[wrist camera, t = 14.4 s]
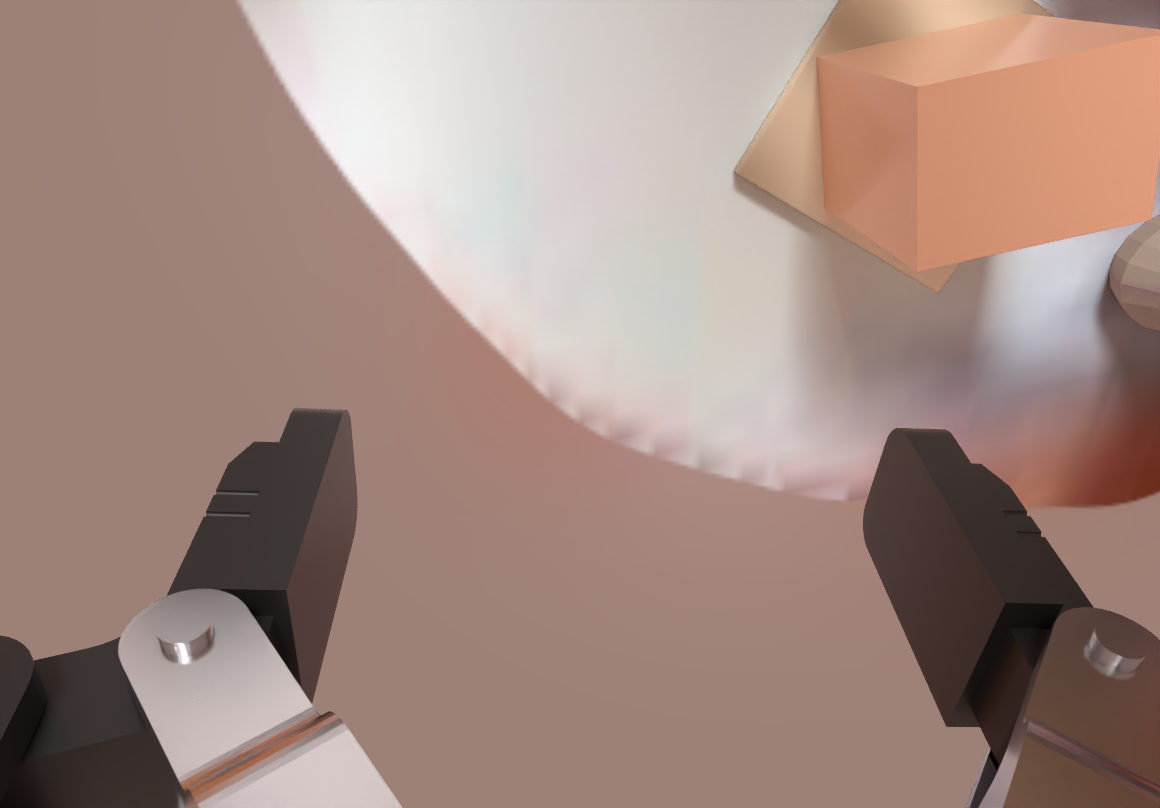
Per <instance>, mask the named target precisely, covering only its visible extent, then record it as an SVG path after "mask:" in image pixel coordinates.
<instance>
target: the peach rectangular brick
mask: <svg viewBox="0 0 1160 808" xmlns="http://www.w3.org/2000/svg"><path fill="white" fill-rule="evenodd" d="M817 72H818V92H819V111H820V131H821V151H822V171H823V190H824V208H826V209H827V210H829V211H830V212H832V213H833V214H834V215H836V216H837V217H839V218H840V219H842V220H843V221H845V222H846V223H847V224H849V225H850V226H852V227H853V228H855V229H856V230H858V231H859V232H861V233H862V234H863V235H865V236H866V237H868V238H869V239H871V240H872V241H874V242H875V243H877V244H878V245H879V246H881V247H882V248H884V249H885V250H887V251H888V252H890V253H891V254H892V255H894V256H895V257H897V258H898V259H900V260H901V261H903V262H904V263H906V264H907V265H908V266H910V267H911V268H913V269H914V270H916V271H917V272H919V271H923V270H928V269H932V268H936V267H941V266H945V265H950V264H954V263H959V262H963V261H968V260H972V259H977V258H981V257H986V256H990V255H995V254H999V253H1004V252H1008V251H1013V250H1017V249H1022V248H1026V247H1031V246H1035V245H1040V244H1044V243H1049V242H1053V241H1058V240H1062V239H1067V238H1071V237H1076V236H1080V235H1085V234H1089V233H1094V232H1098V231H1103V230H1107V229H1112V228H1116V227H1121V226H1125V225H1130V224H1134V223H1139V222H1143V221H1148V220H1152V212H1153V205H1154V197H1155V189H1156V181H1157V174H1158V166H1159V158H1160V29H1152V28H1144V27H1135V26H1126V25H1118V24H1109V23H1100V22H1092V21H1083V20H1074V19H1065V18H1057V17H1048V16H1039V15H1031V14H1022V13H1020V14H1016V15H1011V16H1006V17H1002V18H997V19H992V20H988V21H983V22H978V23H974V24H969V25H964V26H960V27H955V28H950V29H946V30H941V31H936V32H931V33H927V34H922V35H917V36H913V37H908V38H903V39H899V40H894V41H889V42H885V43H880V44H875V45H871V46H866V47H861V48H857V49H852V50H847V51H842V52H838V53H833V54H828V55H824V56H819V57H817Z"/></svg>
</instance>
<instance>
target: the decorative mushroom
mask: <svg viewBox="0 0 1160 808" xmlns="http://www.w3.org/2000/svg"><path fill="white" fill-rule="evenodd" d="M1109 279H1110V288H1111V290H1112V292H1113V294H1114V295H1115V297H1116V299H1117V301H1118V302H1119V304H1120V305H1121V306H1122V308H1123V309H1124V311H1125V312H1126V313H1127V315H1128V316H1129V317H1130V318H1131V319H1132V320H1134V321H1135V322H1137V323H1138V324H1140V325H1141V326H1143V327H1144V328H1148V329H1152V330H1157V331H1160V215H1158V216H1157V217H1155V218H1153V219H1152V220H1149V221H1147V222H1145V223H1144V224H1143V225H1142V226H1141V227H1139V228H1138V229H1137V230H1136V231H1135V232H1133V233H1132V234H1131V235H1130V236H1129V237H1128V238H1127V239H1126V240H1125V242H1124V243H1123V244H1122V246H1121V247H1120V248H1119V250H1118V251H1117V252H1116V254H1115V257H1114V259H1113V262H1112V265H1111V267H1110V270H1109Z"/></svg>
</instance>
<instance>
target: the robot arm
mask: <svg viewBox="0 0 1160 808" xmlns="http://www.w3.org/2000/svg"><path fill="white" fill-rule="evenodd" d="M356 519H357V487H356V475H355V464H354V452H353V441H352V429H351V420H350V415H349V412H348V411H347V410H335V409H334V410H333V409H307V408H295V409H293V411H292V412H291V414H290V417H289V420H288V422H287V424H286V427H285V429H284V432H283V434H282V437H281V439H280V442H279V443H278V442H253V443H252V444H251V445H250V446H249V447H247V448H246V449H245V450H244V451H243V452H242V453H241V454H239V455H238V456H237V457H236V458H235V459H234V460H232V461H231V462H230V463H229V464H228V466H227V468H226V470H225V473H224V475H223V477H222V479H221V481H220V483H219V485H218V488H217V489H216V495H214V496H213V498H212V500H211V502H210V504H209V507H208V509H207V511H206V517H203V520H202V522H201V524H200V526H199V528H198V530H197V532H196V534H195V537H194V539H193V541H192V543H191V545H190V548H189V549H188V551H187V554H186V556H185V558H184V560H183V562H182V564H181V566H180V568H179V571H178V573H177V575H176V577H175V579H174V581H173V584H172V586H171V588H170V590H169V592H168V594H167V596H166V597H163V598H162V599H159V600H157V601H155V602H154V603H152V604H150V605H149V606H147V607H146V608H144V609H143V610H142V611H140V612H139V613H138V614H137V615H136V616H135V617H134V618H133V619H132V620H131V621H130V622H129V624H128V625H127V627H126V628H125V629H124V631H123V633H122V636H121V637H119V638H117V639H115V640H112V641H110V642H107V643H104V644H102V645H99V646H95V647H91V648H87V649H83V650H79V651H74V652H70V653H65V654H61V655H57V656H53V657H48V658H43V659H39V660H35V661H33V658H32V656H31V654H30V651H29V650H28V649H27V648H26V647H25V646H24V645H23V644H22V643H20V642H19V641H17V640H15V639H12V638H9V637H5V636H0V808H402V807H401V805H400V804H399V802H398V801H397V800H396V798H395V796H394V795H393V793H392V792H391V790H390V789H389V788H388V786H387V785H386V783H385V782H384V780H383V779H382V777H381V776H380V774H379V773H378V771H377V770H376V769H375V767H374V766H373V764H372V763H371V761H370V760H369V758H368V757H367V755H366V754H365V753H364V751H363V750H362V748H361V747H360V745H359V744H358V742H357V741H356V740H355V738H354V736H353V735H352V734H351V732H350V731H349V729H348V728H347V726H346V725H345V724H344V723H343V721H342V720H341V719H340V718H339V717H338V716H337V715H336V714H335V713H333V712H330V711H329V712H327V713H325V714H323V715H320V714H319V713H318V712H317V711H316V710H315V708H314V707H313V706H312V702H313V698H314V694H315V690H316V686H317V682H318V678H319V674H320V669H321V665H322V661H323V658H324V654H325V650H326V646H327V642H328V638H329V634H330V630H331V626H332V622H333V618H334V614H335V610H336V606H337V602H338V598H339V594H340V590H341V586H342V582H343V578H344V574H345V570H346V566H347V562H348V558H349V554H350V550H351V546H352V542H353V538H354V534H355V527H356ZM863 531H864V538H865V543H866V546H867V549H868V551H869V553H870V556H871V558H872V560H873V562H874V564H875V567H876V569H877V571H878V573H879V576H880V578H881V580H882V582H883V585H884V587H885V589H886V592H887V594H888V596H889V598H890V601H891V603H892V605H893V607H894V610H895V612H896V614H897V616H898V619H899V621H900V623H901V625H902V628H903V630H904V632H905V634H906V637H907V639H908V641H909V643H910V646H911V648H912V650H913V652H914V655H915V657H916V659H917V662H918V664H919V666H920V668H921V671H922V673H923V675H924V677H925V680H926V682H927V684H928V686H929V688H930V691H931V693H932V695H933V697H934V700H935V702H936V704H937V706H938V709H939V711H940V713H941V716H942V718H943V720H944V722H945V725H946V726H947V727H980V728H981V730H982V732H983V734H984V736H985V738H986V740H987V742H988V744H989V748H988V750H987V752H986V754H985V756H984V758H983V760H982V763H981V766H980V768H979V771H978V774H977V777H976V780H975V782H974V785H973V788H972V791H971V793H970V796H969V799H968V802H967V804H966V807H965V808H1160V640H1159V639H1158V638H1157V637H1156V636H1155V635H1154V634H1152V633H1151V632H1150V631H1148V630H1147V629H1146V628H1144V627H1143V626H1141V625H1139V624H1137V623H1136V622H1134V621H1132V620H1130V619H1128V618H1126V617H1124V616H1122V615H1119V614H1116V613H1114V612H1111V611H1107V610H1103V609H1098V608H1094V607H1093V606H1092V604H1091V603H1090V602H1089V600H1088V599H1087V597H1086V596H1085V594H1084V593H1083V591H1082V590H1081V589H1080V587H1079V586H1078V584H1077V583H1076V581H1075V580H1074V579H1073V577H1072V576H1071V574H1070V573H1069V571H1068V570H1067V568H1066V567H1065V566H1064V564H1063V563H1062V561H1061V560H1060V558H1059V557H1058V555H1057V554H1056V552H1055V551H1054V550H1053V548H1052V547H1051V545H1050V544H1049V543H1048V541H1047V540H1046V538H1045V537H1041V531H1040V529H1039V528H1038V527H1037V525H1036V524H1035V522H1034V521H1033V519H1032V518H1031V517H1030V516H1027V511H1026V509H1025V508H1024V506H1023V505H1022V503H1021V502H1020V501H1019V499H1018V498H1017V496H1016V495H1015V493H1014V492H1013V490H1012V489H1011V488H1010V486H1009V485H1007V484H1006V483H1005V482H1003V481H1002V480H1001V479H1000V478H998V477H997V476H996V475H995V474H993V473H992V472H991V471H989V470H988V469H987V468H986V467H984V466H983V465H982V464H971V462H970V461H969V459H968V458H967V456H966V455H965V453H964V452H963V450H962V449H961V447H960V446H959V444H958V443H957V441H956V440H955V438H954V437H953V435H952V434H951V433H950V432H949V431H947V430H938V429H910V428H896V429H894V430H893V431H892V432H891V433H890V434H889V436H888V438H887V441H886V443H885V446H884V450H883V453H882V456H881V459H880V462H879V465H878V468H877V471H876V474H875V477H874V480H873V483H872V487H871V490H870V493H869V496H868V499H867V502H866V505H865V509H864V517H863Z"/></svg>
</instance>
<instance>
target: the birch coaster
mask: <svg viewBox="0 0 1160 808" xmlns="http://www.w3.org/2000/svg"><path fill="white" fill-rule="evenodd" d="M1020 13H1022V14H1031V15H1039V16H1048V17H1054V16H1053V15H1051V14H1050V13H1049V12H1047V11H1046V10H1045V9H1044V8H1042V7H1041V6H1040V5H1038V4H1037V3H1036V2H1035V1H1033V0H839V2H838V3H837V5H836V7H835V8H834V10H833V11H832V13H831V15H830V16H829V18H828V19H827V21H826V23H825V24H824V26H823V28H822V29H821V31H820V32H819V34H818V36H817V37H816V39H815V40H814V42H813V44H812V45H811V47H810V49H809V50H808V52H807V53H806V55H805V57H804V58H803V60H802V61H801V63H800V65H799V66H798V68H797V69H796V71H795V73H794V74H793V76H792V78H791V79H790V81H789V82H788V84H787V86H786V87H785V89H784V90H783V92H782V94H781V95H780V97H779V99H778V100H777V102H776V103H775V105H774V107H773V108H772V110H771V111H770V113H769V115H768V116H767V118H766V120H765V121H764V123H763V124H762V126H761V128H760V129H759V131H758V132H757V134H756V136H755V137H754V139H753V141H752V142H751V144H750V145H749V147H748V149H747V150H746V152H745V153H744V155H743V157H742V158H741V160H740V161H739V163H738V165H737V166H736V168H735V170H734V172H735V173H737V174H738V175H739V176H741V177H743V178H745V179H746V180H748V181H750V182H751V183H753V184H755V185H756V186H758V187H760V188H761V189H763V190H765V191H766V192H768V193H770V194H772V195H773V196H775V197H777V198H778V199H780V200H782V201H783V202H785V203H787V204H788V205H790V206H792V207H793V208H795V209H797V210H798V211H800V212H802V213H804V214H805V215H807V216H809V217H810V218H812V219H814V220H815V221H817V222H819V223H820V224H822V225H824V226H825V227H827V228H829V229H831V230H832V231H834V232H836V233H837V234H839V235H841V236H842V237H844V238H846V239H847V240H849V241H851V242H852V243H854V244H856V245H858V246H859V247H861V248H863V249H864V250H866V251H868V252H869V253H871V254H873V255H874V256H876V257H878V258H879V259H881V260H883V261H884V262H886V263H888V264H890V265H891V266H893V267H895V268H896V269H898V270H900V271H901V272H903V273H905V274H906V275H908V276H910V277H911V278H913V279H915V280H917V281H918V282H920V283H922V284H923V285H925V286H927V287H928V288H930V289H932V290H933V291H935V292H937V293H938V292H939V291H940V290H941V288H942V287H943V286H944V284H945V283H946V282H947V280H948V279H949V278H950V276H951V275H952V273H953V272H954V271H955V269H956V268H957V267H958V265H959V264H960V263H961V262H959V263H954V264H950V265H945V266H941V267H936V268H932V269H928V270H923V271H919V272H917V271H916V270H914V269H913V268H911V267H910V266H908V265H907V264H906V263H904V262H903V261H901V260H900V259H898V258H897V257H895V256H894V255H892V254H891V253H890V252H888V251H887V250H885V249H884V248H882V247H881V246H879V245H878V244H877V243H875V242H874V241H872V240H871V239H869V238H868V237H866V236H865V235H863V234H862V233H861V232H859V231H858V230H856V229H855V228H853V227H852V226H850V225H849V224H847V223H846V222H845V221H843V220H842V219H840V218H839V217H837V216H836V215H834V214H833V213H832V212H830V211H829V210H827V209H826V208H824V190H823V171H822V151H821V131H820V111H819V92H818V72H817V57H819V56H824V55H828V54H833V53H838V52H842V51H847V50H852V49H857V48H861V47H866V46H871V45H875V44H880V43H885V42H889V41H894V40H899V39H903V38H908V37H913V36H917V35H922V34H927V33H931V32H936V31H941V30H946V29H950V28H955V27H960V26H964V25H969V24H974V23H978V22H983V21H988V20H992V19H997V18H1002V17H1006V16H1011V15H1016V14H1020Z"/></svg>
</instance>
